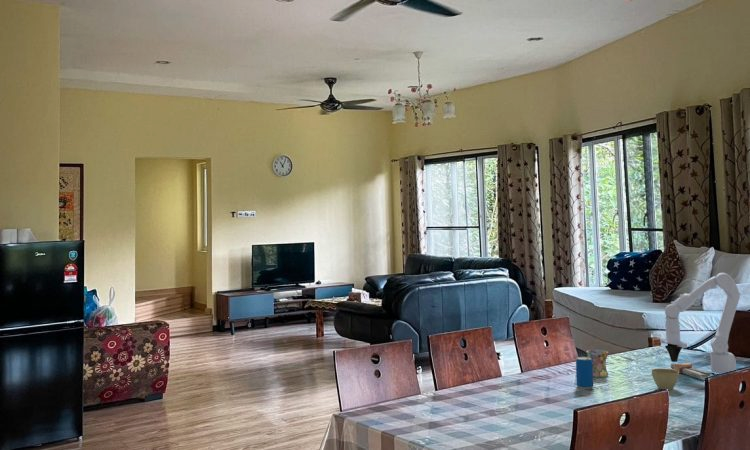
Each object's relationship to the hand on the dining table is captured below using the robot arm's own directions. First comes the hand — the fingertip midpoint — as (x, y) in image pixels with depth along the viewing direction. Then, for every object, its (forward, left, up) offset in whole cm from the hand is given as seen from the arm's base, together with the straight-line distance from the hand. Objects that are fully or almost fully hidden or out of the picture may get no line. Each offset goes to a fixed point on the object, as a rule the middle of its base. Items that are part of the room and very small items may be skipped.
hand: (674, 361), depth 275 cm
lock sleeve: (0, +5, -4) cm, 7 cm away
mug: (+38, -3, -4) cm, 39 cm away
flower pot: (+26, +26, -4) cm, 37 cm away
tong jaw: (+2, +12, -4) cm, 12 cm away
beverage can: (+54, +13, -4) cm, 56 cm away
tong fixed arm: (0, +7, -4) cm, 8 cm away
